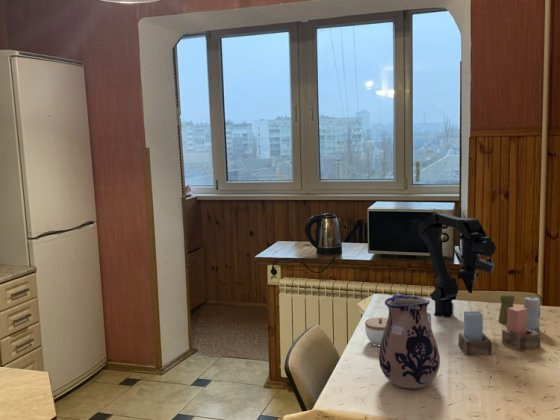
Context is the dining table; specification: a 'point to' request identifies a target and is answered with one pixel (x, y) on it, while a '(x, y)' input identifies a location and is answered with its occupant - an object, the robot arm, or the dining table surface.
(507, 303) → the olive green cylinder
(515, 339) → the grey-brown wooden tray
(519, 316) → the salmon pink block
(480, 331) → the blue-grey rectangular block
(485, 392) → the dining table surface
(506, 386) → the dining table surface
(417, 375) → the ceramic pitcher
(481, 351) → the grey brown open box
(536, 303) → the energy drink
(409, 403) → the dining table surface
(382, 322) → the lidded jar
